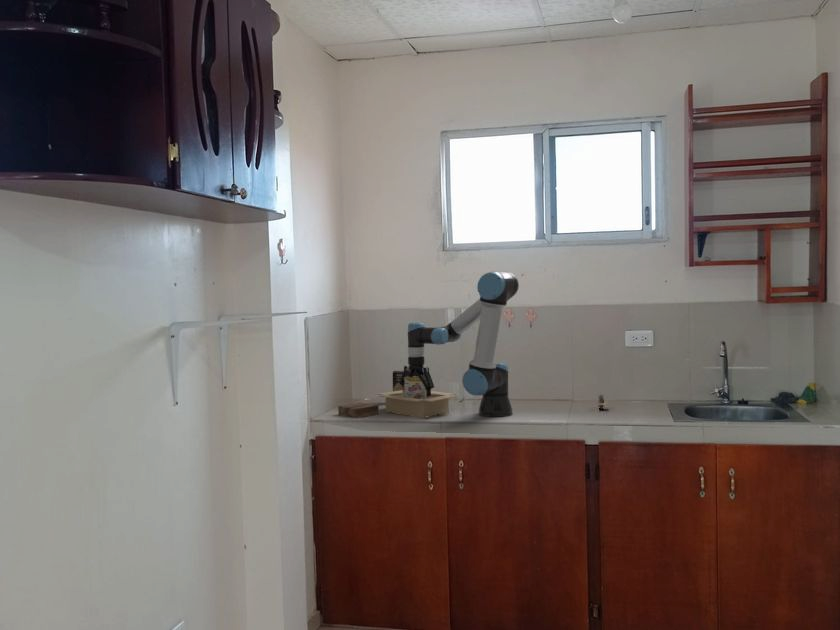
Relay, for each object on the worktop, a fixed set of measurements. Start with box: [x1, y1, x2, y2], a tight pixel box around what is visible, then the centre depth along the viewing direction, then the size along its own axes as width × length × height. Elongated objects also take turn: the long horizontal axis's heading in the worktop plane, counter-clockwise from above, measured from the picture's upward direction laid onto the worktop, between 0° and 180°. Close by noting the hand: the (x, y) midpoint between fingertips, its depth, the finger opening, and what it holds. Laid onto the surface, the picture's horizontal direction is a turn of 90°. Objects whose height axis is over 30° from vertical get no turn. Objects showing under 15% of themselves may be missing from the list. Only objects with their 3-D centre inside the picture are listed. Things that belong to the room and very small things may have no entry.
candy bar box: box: [404, 376, 426, 399], centre depth 349 cm, size 11×5×16 cm, turn 70°
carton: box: [378, 390, 458, 418], centre depth 349 cm, size 34×26×8 cm
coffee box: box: [392, 370, 410, 392], centre depth 376 cm, size 9×6×16 cm
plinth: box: [337, 402, 380, 419], centre depth 346 cm, size 13×13×4 cm
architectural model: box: [597, 393, 608, 410], centre depth 347 cm, size 3×7×7 cm, turn 161°
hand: (416, 401), depth 349 cm, fingers open, 13 cm apart
